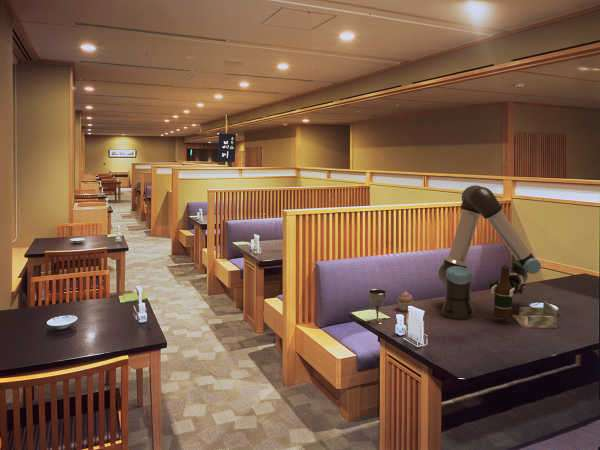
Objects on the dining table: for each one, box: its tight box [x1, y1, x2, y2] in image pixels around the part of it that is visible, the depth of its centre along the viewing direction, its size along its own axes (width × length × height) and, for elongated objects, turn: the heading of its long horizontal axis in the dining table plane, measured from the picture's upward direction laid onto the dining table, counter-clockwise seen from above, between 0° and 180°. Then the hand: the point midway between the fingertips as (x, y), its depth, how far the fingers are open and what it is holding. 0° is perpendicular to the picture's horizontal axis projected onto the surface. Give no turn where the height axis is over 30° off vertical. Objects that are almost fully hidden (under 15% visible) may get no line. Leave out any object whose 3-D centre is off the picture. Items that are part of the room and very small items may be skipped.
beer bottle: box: [493, 265, 513, 319], centre depth 223 cm, size 8×8×24 cm
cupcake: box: [396, 290, 416, 313], centre depth 245 cm, size 9×9×10 cm
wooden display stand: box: [512, 301, 558, 329], centre depth 223 cm, size 15×14×8 cm
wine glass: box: [368, 288, 387, 325], centre depth 229 cm, size 8×8×15 cm
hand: (501, 292), depth 219 cm, fingers closed on beer bottle, 7 cm apart
